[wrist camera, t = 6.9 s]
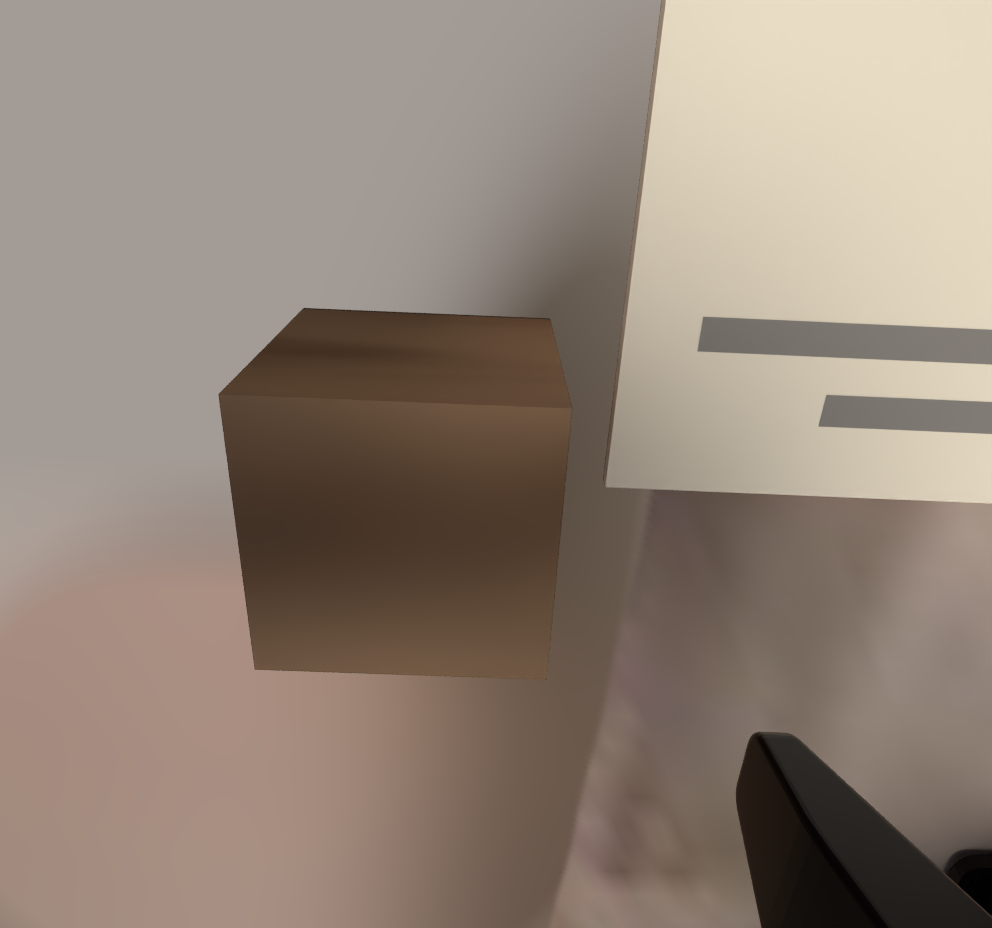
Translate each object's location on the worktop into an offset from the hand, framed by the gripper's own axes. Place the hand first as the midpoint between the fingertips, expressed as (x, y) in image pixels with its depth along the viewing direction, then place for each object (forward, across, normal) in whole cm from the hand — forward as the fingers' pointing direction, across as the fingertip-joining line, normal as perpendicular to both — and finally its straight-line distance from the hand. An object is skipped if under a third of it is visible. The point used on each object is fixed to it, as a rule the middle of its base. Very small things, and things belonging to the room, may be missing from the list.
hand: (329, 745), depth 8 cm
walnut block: (+9, 0, 0) cm, 9 cm away
